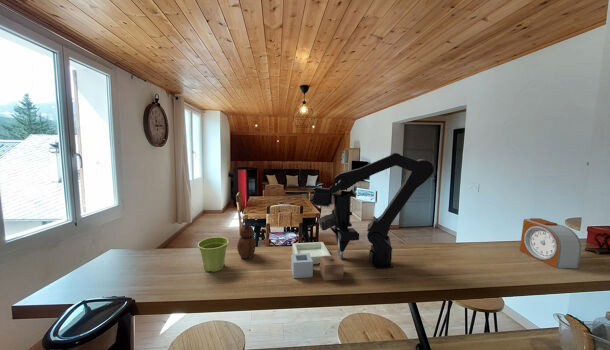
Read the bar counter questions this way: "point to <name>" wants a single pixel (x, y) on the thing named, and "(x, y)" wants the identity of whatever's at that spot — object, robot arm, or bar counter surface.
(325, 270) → the walnut block
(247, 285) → the bar counter surface
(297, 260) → the bored block
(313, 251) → the tray
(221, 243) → the plant pot
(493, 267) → the bar counter surface
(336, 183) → the robot arm
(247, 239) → the wooden figurine
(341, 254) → the cylinder
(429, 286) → the bar counter surface
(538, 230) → the alarm clock
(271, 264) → the bar counter surface
